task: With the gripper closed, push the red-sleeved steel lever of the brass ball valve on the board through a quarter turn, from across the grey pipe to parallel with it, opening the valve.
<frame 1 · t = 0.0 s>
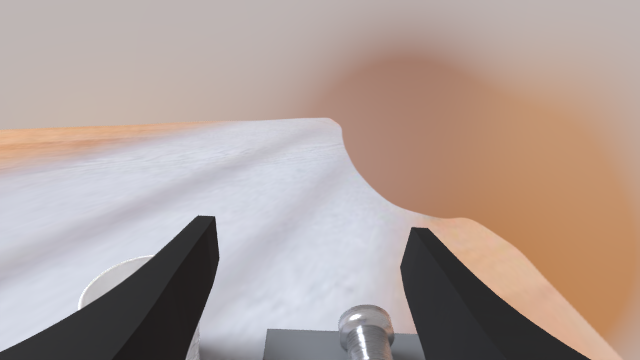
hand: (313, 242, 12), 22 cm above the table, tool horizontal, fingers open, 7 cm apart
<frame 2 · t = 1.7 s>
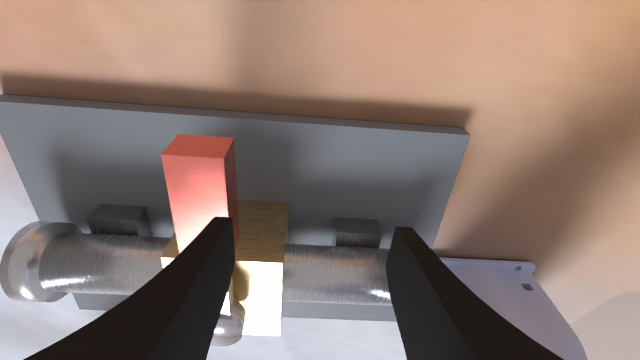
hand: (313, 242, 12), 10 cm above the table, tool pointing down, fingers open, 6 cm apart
valve body: (235, 267, 22), on the mounting board, point 4 cm above the table
mounting board: (246, 225, 25), on the table
valve lever: (213, 259, 16), point 8 cm above the table, hinge at 0.0°
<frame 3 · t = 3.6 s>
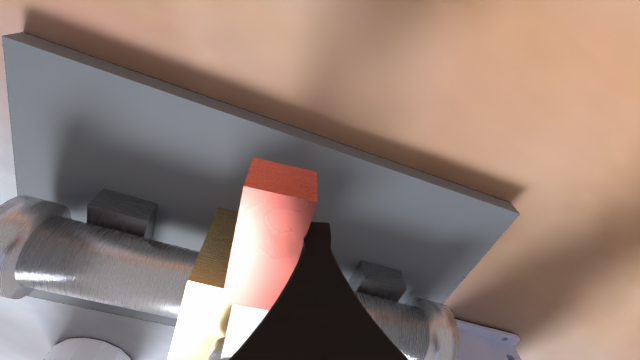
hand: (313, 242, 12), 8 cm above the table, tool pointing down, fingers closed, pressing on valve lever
valve body: (249, 295, 19), on the mounting board, point 4 cm above the table
white cup: (95, 357, 30), on the table
mounting board: (259, 245, 23), on the table
valve lever: (251, 300, 13), point 8 cm above the table, hinge at 5.5°, touching gripper
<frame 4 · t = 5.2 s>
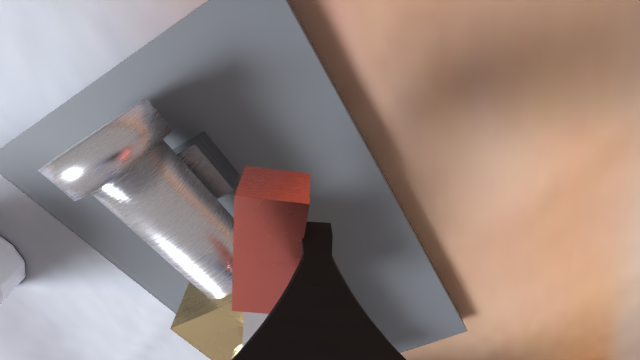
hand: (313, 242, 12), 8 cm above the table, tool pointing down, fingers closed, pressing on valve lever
valve body: (266, 300, 19), on the mounting board, point 4 cm above the table
mounting board: (274, 249, 23), on the table
valve lever: (263, 306, 14), point 8 cm above the table, hinge at 51.7°, touching gripper
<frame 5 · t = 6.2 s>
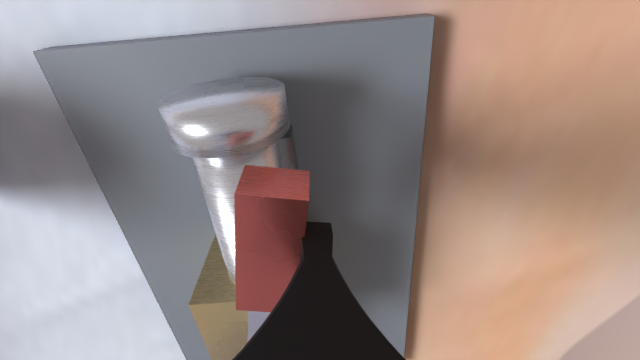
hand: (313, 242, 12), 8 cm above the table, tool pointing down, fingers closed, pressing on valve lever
valve body: (272, 300, 19), on the mounting board, point 4 cm above the table
mounting board: (278, 250, 23), on the table
valve lever: (267, 305, 14), point 8 cm above the table, hinge at 78.6°, touching gripper
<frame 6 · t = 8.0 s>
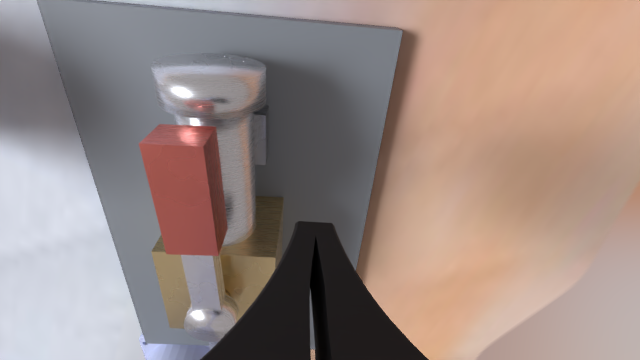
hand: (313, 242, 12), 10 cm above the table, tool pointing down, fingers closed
valve body: (228, 262, 21), on the mounting board, point 4 cm above the table
mounting board: (240, 221, 25), on the table
valve lever: (200, 253, 15), point 8 cm above the table, hinge at 91.5°
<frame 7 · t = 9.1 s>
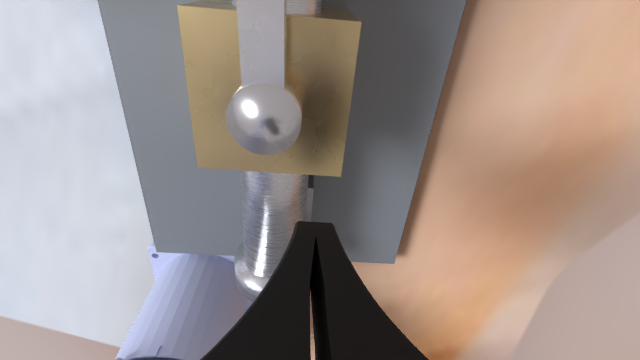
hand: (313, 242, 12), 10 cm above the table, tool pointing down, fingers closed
valve body: (276, 84, 15), on the mounting board, point 4 cm above the table
mounting board: (283, 64, 19), on the table
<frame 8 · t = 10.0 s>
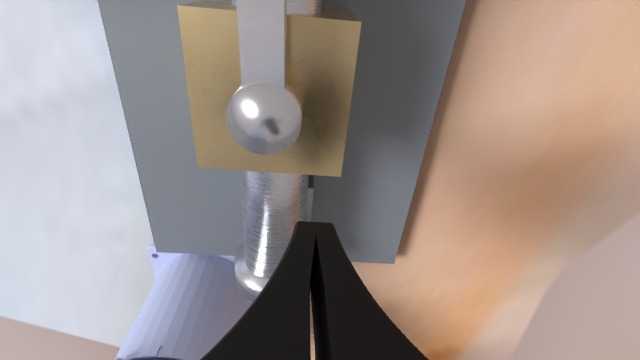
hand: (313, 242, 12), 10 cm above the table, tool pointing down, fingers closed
valve body: (276, 84, 15), on the mounting board, point 4 cm above the table
mounting board: (283, 64, 19), on the table
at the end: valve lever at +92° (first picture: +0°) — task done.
